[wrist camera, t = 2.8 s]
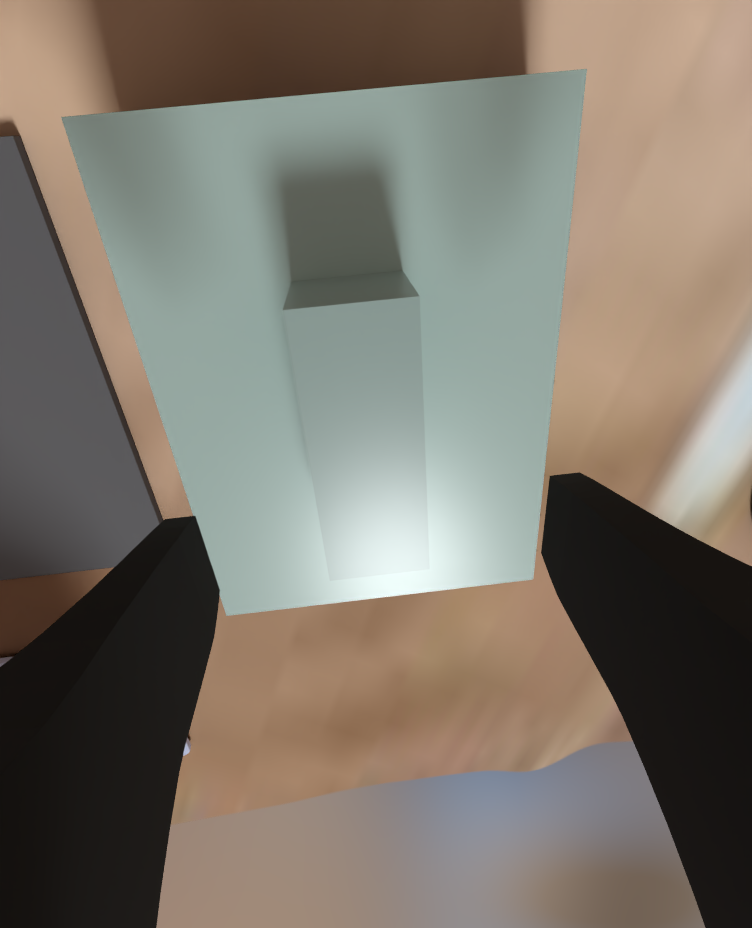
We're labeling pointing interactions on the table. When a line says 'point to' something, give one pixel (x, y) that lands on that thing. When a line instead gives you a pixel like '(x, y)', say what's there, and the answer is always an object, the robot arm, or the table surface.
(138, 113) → the lid
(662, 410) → the table surface
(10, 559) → the mat
